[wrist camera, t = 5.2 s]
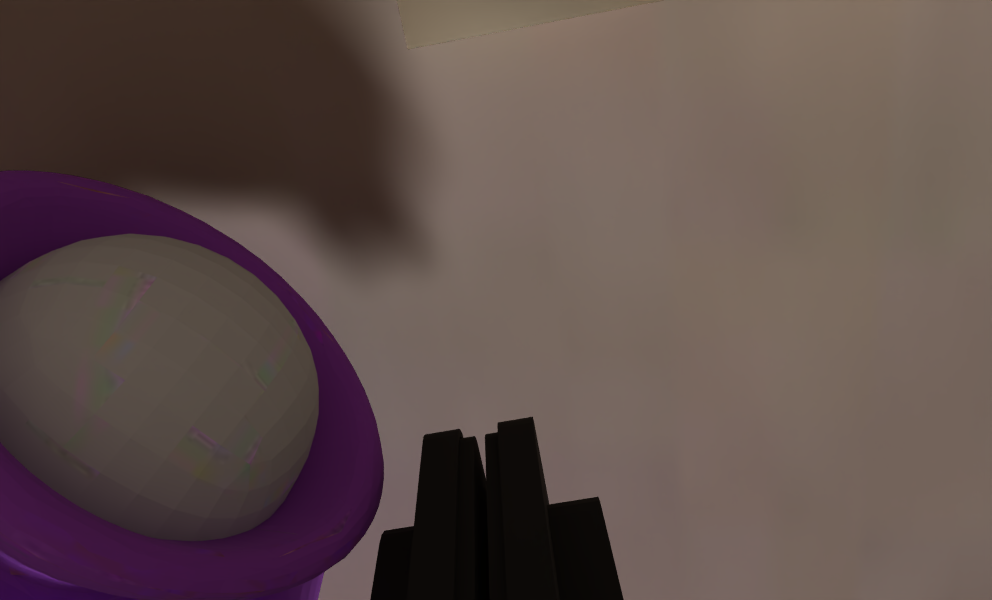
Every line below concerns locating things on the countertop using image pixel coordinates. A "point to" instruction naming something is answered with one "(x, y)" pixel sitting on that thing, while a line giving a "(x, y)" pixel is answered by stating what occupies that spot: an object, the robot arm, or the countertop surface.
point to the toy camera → (166, 409)
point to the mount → (489, 16)
